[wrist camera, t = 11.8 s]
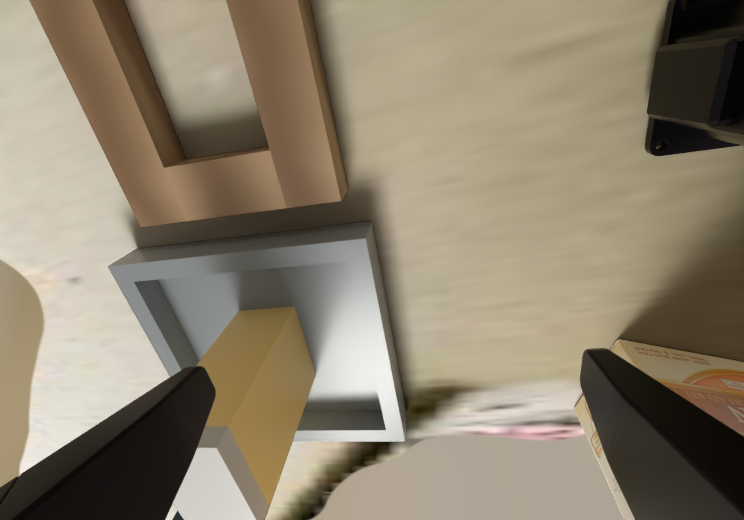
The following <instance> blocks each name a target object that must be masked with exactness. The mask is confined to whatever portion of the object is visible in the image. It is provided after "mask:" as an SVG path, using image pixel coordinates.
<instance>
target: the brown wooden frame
mask: <svg viewBox="0 0 744 520" xmlns="http://www.w3.org/2000/svg"><path fill="white" fill-rule="evenodd" d="M29 1H30V3H31V5H32V7H33V9H34V11H35V13H36V15H37V17H38V19H39V21H40V23H41V25H42V27H43V29H44V31H45V33H46V35H47V37H48V39H49V41H50V43H51V45H52V47H53V49H54V51H55V53H56V55H57V58H58V60H59V62H60V64H61V66H62V68H63V70H64V72H65V74H66V76H67V78H68V80H69V82H70V84H71V86H72V88H73V90H74V92H75V94H76V96H77V98H78V100H79V102H80V104H81V106H82V108H83V110H84V112H85V114H86V117H87V119H88V121H89V123H90V125H91V127H92V129H93V131H94V133H95V135H96V137H97V139H98V141H99V143H100V145H101V147H102V149H103V151H104V153H105V155H106V157H107V159H108V161H109V163H110V165H111V167H112V169H113V171H114V173H115V176H116V178H117V180H118V182H119V184H120V186H121V188H122V190H123V192H124V194H125V196H126V198H127V200H128V202H129V204H130V206H131V208H132V210H133V212H134V214H135V216H136V218H137V220H138V222H139V224H140V226H141V227H147V226H154V225H162V224H170V223H177V222H185V221H192V220H200V219H208V218H215V217H223V216H231V215H238V214H246V213H254V212H261V211H269V210H277V209H284V208H292V207H300V206H307V205H315V204H322V203H330V202H338V201H342V199H343V197H344V196H345V194H346V193H347V191H348V186H347V181H346V176H345V171H344V167H343V162H342V157H341V152H340V147H339V142H338V137H337V132H336V127H335V123H334V118H333V113H332V108H331V103H330V98H329V93H328V88H327V83H326V79H325V74H324V69H323V64H322V59H321V54H320V49H319V44H318V39H317V34H316V30H315V25H314V20H313V15H312V10H311V5H310V0H226V1H227V4H228V8H229V11H230V14H231V18H232V21H233V25H234V28H235V32H236V35H237V39H238V42H239V46H240V49H241V52H242V56H243V59H244V63H245V66H246V70H247V73H248V77H249V80H250V84H251V87H252V90H253V94H254V97H255V101H256V104H257V108H258V111H259V115H260V118H261V122H262V125H263V128H264V132H265V135H266V139H267V142H268V146H266V147H260V148H254V149H248V150H242V151H236V152H230V153H224V154H218V155H212V156H206V157H200V158H194V159H188V160H186V158H185V155H184V153H183V150H182V148H181V145H180V143H179V140H178V138H177V135H176V132H175V130H174V127H173V125H172V122H171V120H170V117H169V115H168V112H167V110H166V107H165V105H164V102H163V100H162V97H161V95H160V92H159V89H158V87H157V84H156V82H155V79H154V77H153V74H152V72H151V69H150V67H149V64H148V62H147V59H146V57H145V54H144V52H143V49H142V46H141V44H140V41H139V39H138V36H137V34H136V31H135V29H134V26H133V24H132V21H131V19H130V16H129V14H128V11H127V9H126V6H125V3H124V1H123V0H29Z"/></svg>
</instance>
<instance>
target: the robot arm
mask: <svg viewBox="0 0 744 520" xmlns="http://www.w3.org/2000/svg"><path fill="white" fill-rule="evenodd" d="M681 2H682V0H670V2H669V5H668V9H667V15H666V21H665V27H664V33H663V39H662V45H661V48H660V50H659V51H658V52H657V53H656V58H655V64H654V70H653V76H652V83H651V89H650V95H649V102H648V108H647V114H648V115H649V116H650V119H649V125H648V131H647V137H646V143H645V150H646V151H647V152H648V153H649V154H652V155H655V156H664V155H672V154H679V153H687V152H694V151H702V150H710V149H717V148H725V147H732V146H740V145H743V146H744V0H689V4H688V7H687V8H686V9H685V10H682V9H681ZM660 140H663V144H662V146H661V147H660V148H658V149H656V144H657V143H658V142H659V141H660ZM580 383H581V388H582V391H583V394H584V397H585V400H586V402H587V405H588V408H589V411H590V414H591V417H592V420H593V422H594V425H595V428H596V431H597V434H598V437H599V439H600V442H601V445H602V448H603V451H604V453H605V456H606V459H607V461H608V463H609V466H610V468H611V470H612V472H613V475H614V477H615V479H616V481H617V483H618V485H619V487H620V489H621V491H622V493H623V496H624V498H625V500H626V502H627V504H628V506H629V508H630V510H631V512H632V514H633V517H634V519H635V520H744V436H742V435H741V434H739V433H738V432H736V431H735V430H733V429H732V428H730V427H728V426H727V425H725V424H724V423H722V422H721V421H719V420H718V419H716V418H714V417H713V416H711V415H710V414H708V413H707V412H705V411H704V410H702V409H700V408H699V407H697V406H696V405H694V404H693V403H691V402H690V401H688V400H686V399H685V398H683V397H682V396H680V395H679V394H677V393H676V392H674V391H672V390H671V389H669V388H668V387H666V386H665V385H663V384H662V383H660V382H658V381H657V380H655V379H654V378H652V377H651V376H649V375H648V374H646V373H644V372H643V371H641V370H640V369H638V368H637V367H635V366H634V365H632V364H630V363H629V362H627V361H626V360H624V359H623V358H621V357H620V356H618V355H616V354H615V353H613V352H612V351H610V350H608V349H605V348H597V349H586V350H585V351H584V353H583V357H582V366H581V374H580ZM215 397H216V390H215V387H214V385H213V383H212V381H211V379H210V377H209V375H208V373H207V371H206V369H205V368H204V367H203V366H189V367H186V368H184V369H182V370H181V371H179V372H178V373H176V374H174V375H173V376H171V377H170V378H168V379H167V380H165V381H164V382H162V383H161V384H159V385H158V386H156V387H154V388H153V389H151V390H150V391H148V392H147V393H145V394H144V395H142V396H141V397H139V398H137V399H136V400H134V401H133V402H131V403H130V404H128V405H127V406H125V407H124V408H122V409H121V410H119V411H117V412H116V413H114V414H113V415H111V416H110V417H108V418H107V419H105V420H104V421H102V422H100V423H99V424H97V425H96V426H94V427H93V428H91V429H90V430H88V431H87V432H85V433H83V434H82V435H80V436H79V437H77V438H76V439H74V440H73V441H71V442H70V443H68V444H67V445H65V446H63V447H62V448H60V449H59V450H57V451H56V452H54V453H53V454H51V455H50V456H48V457H46V458H45V459H43V460H42V461H40V462H39V463H37V464H36V465H34V466H33V467H31V468H30V469H28V470H26V471H25V472H23V473H22V474H21V475H20V477H15V478H14V479H12V480H11V481H9V482H8V483H6V484H5V485H3V486H2V487H0V520H165V519H166V517H167V514H168V512H169V510H170V508H171V506H172V504H173V501H174V499H175V497H176V495H177V493H178V491H179V489H180V486H181V484H182V482H183V480H184V478H185V476H186V473H187V471H188V469H189V467H190V465H191V462H192V460H193V458H194V455H195V453H196V450H197V447H198V445H199V442H200V439H201V436H202V434H203V431H204V428H205V425H206V422H207V420H208V417H209V414H210V411H211V409H212V406H213V403H214V400H215Z"/></svg>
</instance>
